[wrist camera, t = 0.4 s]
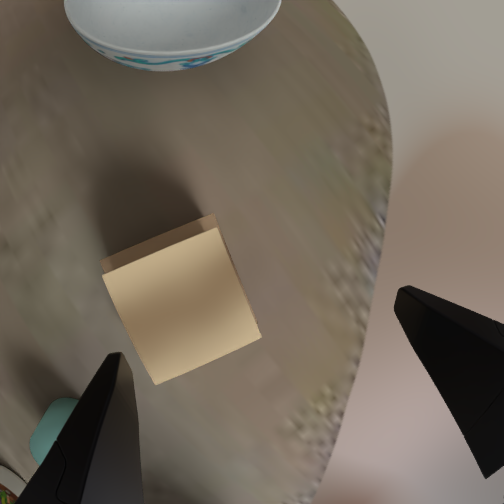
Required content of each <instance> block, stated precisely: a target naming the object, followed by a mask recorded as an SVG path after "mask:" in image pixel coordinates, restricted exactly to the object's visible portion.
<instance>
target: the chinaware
mask: <svg viewBox="0 0 504 504" xmlns="http://www.w3.org/2000/svg"><path fill="white" fill-rule="evenodd" d="M280 4H281V0H64V8H65V12H66V15H67V17H68V20H69V21H70V23H71V25H72V26H73V28H74V29H75V31H76V32H77V33H78V34H79V36H80V37H81V38H82V39H83V40H84V41H85V42H86V43H87V44H88V45H89V46H90V47H92V48H93V49H94V50H95V51H97V52H98V53H100V54H101V55H103V56H104V57H106V58H108V59H110V60H112V61H114V62H116V63H119V64H122V65H124V66H128V67H131V68H136V69H141V70H148V71H176V70H184V69H189V68H194V67H198V66H201V65H205V64H208V63H210V62H213V61H216V60H218V59H220V58H222V57H224V56H226V55H228V54H230V53H232V52H234V51H235V50H237V49H239V48H240V47H242V46H243V45H245V44H246V43H247V42H249V41H250V40H251V39H252V38H254V37H255V36H256V35H257V34H258V33H259V32H261V31H262V30H263V29H264V28H265V27H266V26H267V25H268V24H269V23H270V21H271V20H272V19H273V18H274V16H275V15H276V13H277V11H278V9H279V7H280Z"/></svg>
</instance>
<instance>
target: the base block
mask: <svg viewBox="0 0 504 504" xmlns="http://www.w3.org/2000/svg"><path fill="white" fill-rule="evenodd" d="M216 227H217V228H218V231H219V233H220V236H221V239H222V241H223V244H224V246H225V249H226V251H227V254H228V256H229V259H230V261H231V264H232V266H233V268H234V271H235V273H236V276H237V278H238V281H239V283H240V286H241V288H242V291H243V293H244V296H245V298H246V300H247V303H248V305H249V308H250V310H251V313H252V315H253V317H254V320H255V322H256V324H258V322H257V320H256V317H255V315H254V312H253V310H252V307H251V305H250V303H249V300H248V298H247V295H246V293H245V290H244V288H243V285H242V283H241V280H240V278H239V276H238V273H237V271H236V268H235V266H234V263H233V261H232V258H231V256H230V253H229V251H228V248H227V246H226V243H225V241H224V238H223V236H222V233H221V231H220V228H219V225H218V223H217V220H216V218H215V215H214V213H213V214H210V215H207V216H205V217H202V218H200V219H197V220H195V221H192V222H190V223H187V224H185V225H182V226H180V227H177V228H175V229H172V230H170V231H168V232H165V233H163V234H160V235H158V236H155V237H153V238H151V239H148V240H146V241H144V242H141V243H139V244H136V245H134V246H132V247H129V248H127V249H125V250H122V251H120V252H118V253H116V254H113V255H111V256H109V257H106V258H104V259H102V260H100V262H101V265H102V268H103V270H104V272H105V274H106V273H108V272H110V271H113V270H115V269H117V268H119V267H122V266H124V265H126V264H129V263H131V262H133V261H135V260H138V259H140V258H142V257H145V256H147V255H150V254H152V253H154V252H157V251H159V250H161V249H164V248H166V247H169V246H171V245H173V244H176V243H178V242H181V241H183V240H185V239H188V238H190V237H193V236H195V235H198V234H200V233H203V232H205V231H208V230H210V229H213V228H216Z"/></svg>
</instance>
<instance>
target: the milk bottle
mask: <svg viewBox="0 0 504 504" xmlns="http://www.w3.org/2000/svg"><path fill="white" fill-rule="evenodd" d="M26 485H27V484H26V483H25V482H24V481H23V480H22V479H21V478H19V477H18V476H17V475H16V474H15V473H13V472H12V471H10V470H9V469H7V468H6V467H4V466H2V465H0V504H14V502H15V501H16V500H17V498H18V497H19V495H20V494H21V492H22V491H23V490H24V488H25V487H26Z"/></svg>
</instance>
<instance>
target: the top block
mask: <svg viewBox="0 0 504 504" xmlns="http://www.w3.org/2000/svg"><path fill="white" fill-rule="evenodd" d="M102 277H103V280H104V282H105V284H106V287H107V289H108V291H109V294H110V296H111V298H112V300H113V303H114V305H115V307H116V309H117V312H118V314H119V316H120V318H121V320H122V322H123V324H124V326H125V328H126V331H127V333H128V335H129V337H130V339H131V341H132V343H133V345H134V347H135V348H136V350H137V352H138V354H139V356H140V358H141V360H142V362H143V364H144V366H145V367H146V369H147V371H148V373H149V375H150V377H151V378H152V380H153V382H154V384H155V385H157V384H160V383H162V382H165V381H167V380H169V379H172V378H174V377H176V376H179V375H181V374H184V373H186V372H188V371H190V370H193V369H195V368H197V367H200V366H202V365H204V364H206V363H209V362H211V361H213V360H215V359H217V358H220V357H222V356H224V355H226V354H228V353H230V352H232V351H235V350H237V349H239V348H241V347H243V346H245V345H247V344H249V343H251V342H253V341H255V340H257V339H259V338H262V337H261V334H260V332H259V329H258V327H257V325H256V322H255V320H254V317H253V315H252V313H251V310H250V308H249V305H248V303H247V300H246V298H245V296H244V293H243V291H242V288H241V286H240V283H239V281H238V278H237V276H236V273H235V271H234V268H233V266H232V264H231V261H230V259H229V256H228V254H227V251H226V249H225V246H224V244H223V241H222V239H221V236H220V233H219V231H218V228H217V227H216V228H213V229H210V230H208V231H205V232H203V233H200V234H198V235H195V236H193V237H190V238H188V239H185V240H183V241H181V242H178V243H176V244H173V245H171V246H169V247H166V248H164V249H161V250H159V251H157V252H154V253H152V254H150V255H147V256H145V257H142V258H140V259H138V260H135V261H133V262H131V263H129V264H126V265H124V266H122V267H119V268H117V269H115V270H113V271H110V272H108V273H106V274H104V275H102Z"/></svg>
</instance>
